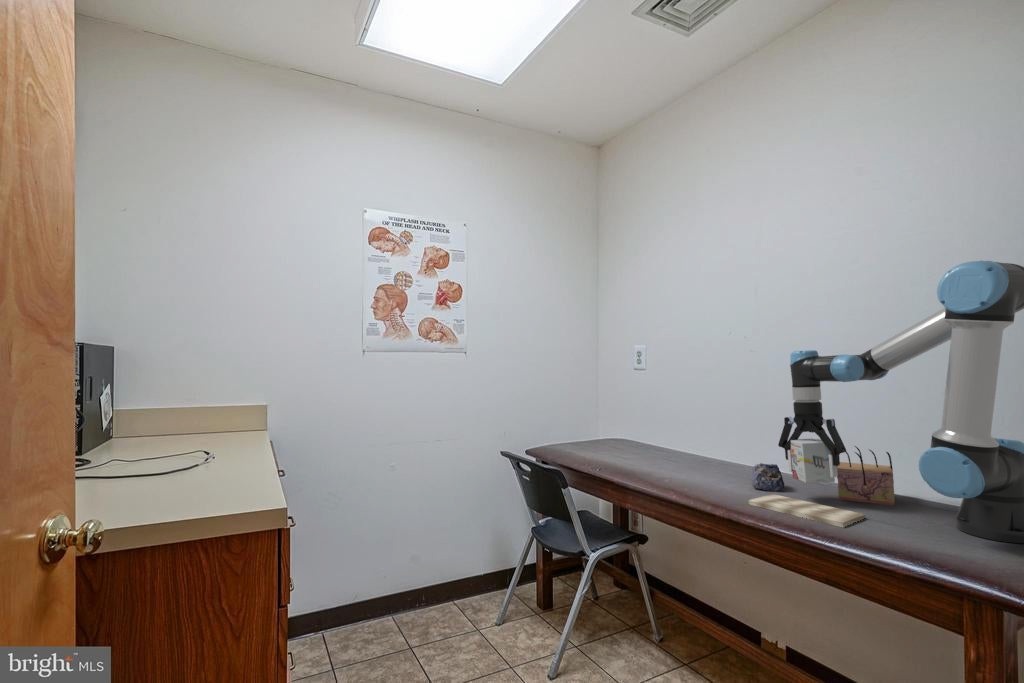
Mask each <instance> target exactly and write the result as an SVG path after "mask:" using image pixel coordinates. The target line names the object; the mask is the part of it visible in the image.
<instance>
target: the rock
mask: <svg viewBox="0 0 1024 683" xmlns="http://www.w3.org/2000/svg"><path fill="white" fill-rule="evenodd" d="M751 469H752V470H751V473H750V474H751V475H750V476H751V477H750V482H751V486H752V487H753V488H755V489H759V490H764V491H767V492H778V491H780V490H782V489H783V488H785V482H784V478H783V475H782V472H781V471H780V468H779V466H778V464H773V463H770V464H769V463H763V462H760V463H757V464H754V466H752V467H751Z"/></svg>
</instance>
